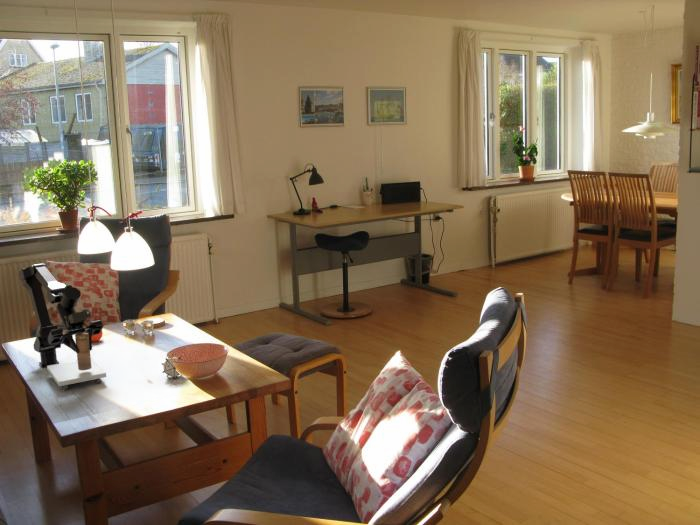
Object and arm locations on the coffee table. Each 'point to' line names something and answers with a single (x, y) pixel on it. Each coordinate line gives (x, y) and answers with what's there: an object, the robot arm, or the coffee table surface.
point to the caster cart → (75, 373)
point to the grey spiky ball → (171, 367)
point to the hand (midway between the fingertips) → (84, 351)
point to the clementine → (97, 337)
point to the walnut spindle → (83, 351)
